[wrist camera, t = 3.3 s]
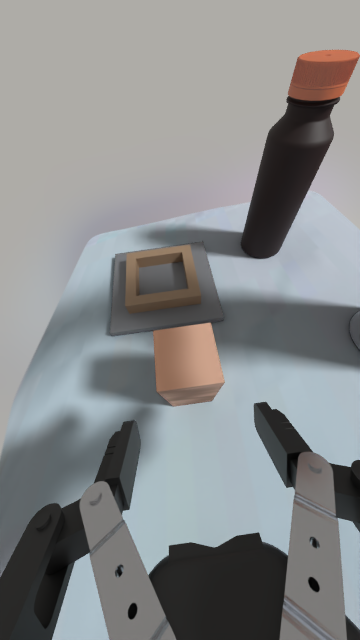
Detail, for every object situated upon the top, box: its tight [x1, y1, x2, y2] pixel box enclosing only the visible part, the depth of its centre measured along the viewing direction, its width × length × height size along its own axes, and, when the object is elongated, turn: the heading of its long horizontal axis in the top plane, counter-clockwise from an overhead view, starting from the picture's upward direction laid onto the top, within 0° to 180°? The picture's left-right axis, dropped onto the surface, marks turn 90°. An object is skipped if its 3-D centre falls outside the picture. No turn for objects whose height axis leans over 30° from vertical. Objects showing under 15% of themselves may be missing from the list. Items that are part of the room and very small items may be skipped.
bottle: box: [241, 50, 360, 258], centre depth 25 cm, size 7×7×20 cm
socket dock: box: [110, 242, 224, 336], centre depth 29 cm, size 16×16×3 cm
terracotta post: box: [153, 323, 225, 406], centre depth 18 cm, size 4×4×11 cm
